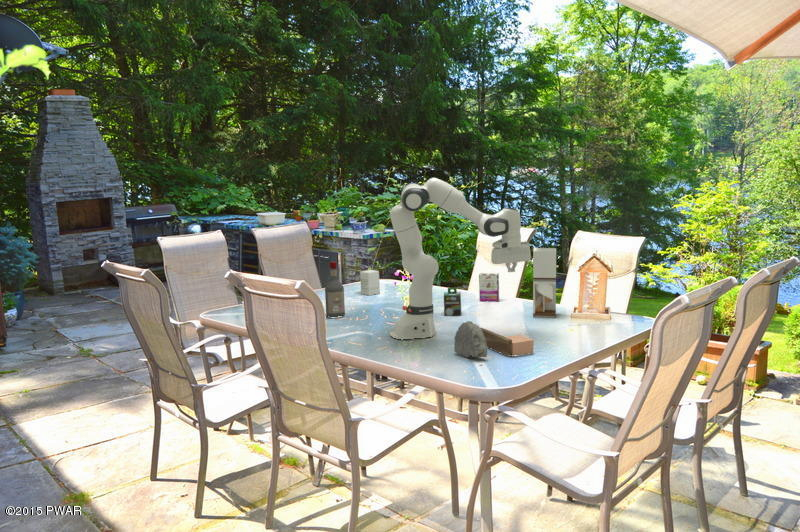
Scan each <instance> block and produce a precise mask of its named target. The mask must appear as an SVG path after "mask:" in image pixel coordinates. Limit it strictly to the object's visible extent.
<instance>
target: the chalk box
mask: <svg viewBox="0 0 800 532" xmlns="http://www.w3.org/2000/svg"><path fill="white" fill-rule="evenodd" d="M451 290H453V291H451ZM461 295H462V294H461V291H457V287H448V288H447V291H444V293H443V309H444V312H443V313H444V317H445V316H450V317H451V316H453V317H454V316H455V317H458V316H459V317H461V316H462V299H461V297H462V296H461Z"/></svg>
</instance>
